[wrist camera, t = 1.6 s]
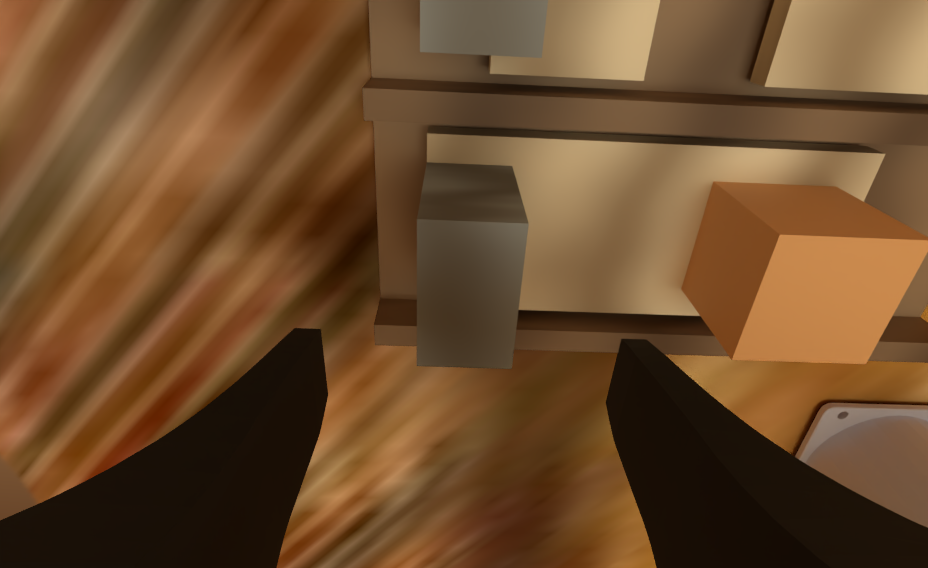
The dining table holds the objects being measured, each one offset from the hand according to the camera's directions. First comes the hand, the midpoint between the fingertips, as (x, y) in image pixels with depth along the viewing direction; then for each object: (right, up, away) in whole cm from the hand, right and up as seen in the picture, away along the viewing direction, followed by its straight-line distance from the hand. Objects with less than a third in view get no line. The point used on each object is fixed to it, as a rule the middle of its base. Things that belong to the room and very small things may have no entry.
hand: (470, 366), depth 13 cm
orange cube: (+11, +4, +7) cm, 14 cm away
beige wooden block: (+6, +5, +9) cm, 12 cm away
